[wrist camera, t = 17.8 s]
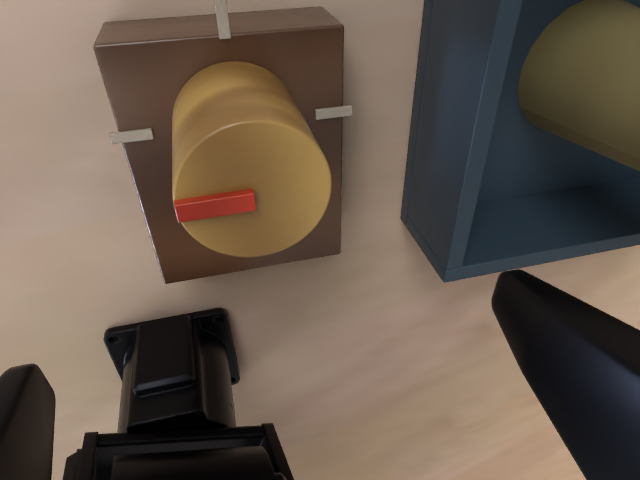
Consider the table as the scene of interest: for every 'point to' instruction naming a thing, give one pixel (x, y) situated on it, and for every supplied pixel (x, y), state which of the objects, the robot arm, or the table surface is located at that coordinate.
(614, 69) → the cork
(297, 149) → the tap knob
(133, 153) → the panel
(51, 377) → the table surface
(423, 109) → the basin
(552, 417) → the robot arm
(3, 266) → the table surface
